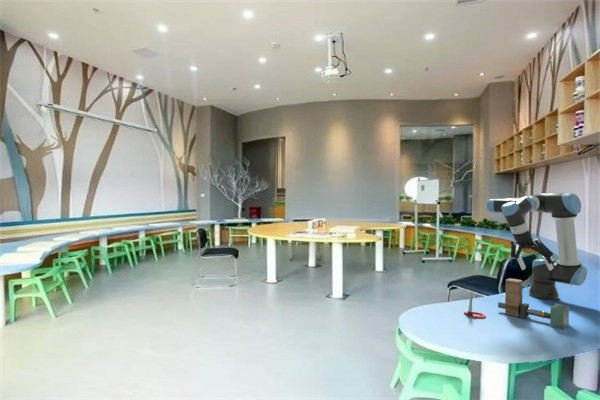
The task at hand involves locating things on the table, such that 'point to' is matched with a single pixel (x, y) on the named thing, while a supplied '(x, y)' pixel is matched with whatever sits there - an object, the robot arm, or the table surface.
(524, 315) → the collar
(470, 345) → the table surface
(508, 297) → the sleeve
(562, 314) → the rod stand
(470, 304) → the tow hook
